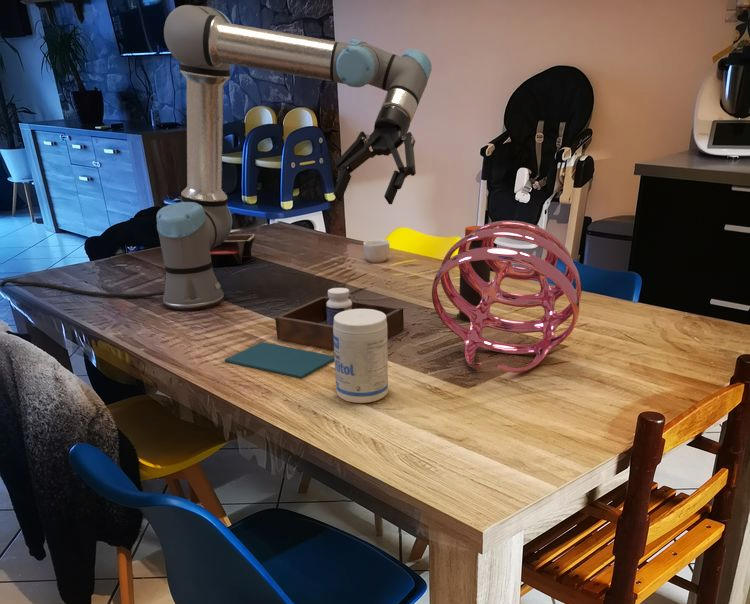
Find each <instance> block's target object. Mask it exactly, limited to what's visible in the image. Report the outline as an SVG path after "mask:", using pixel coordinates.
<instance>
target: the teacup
mask: <svg viewBox="0 0 750 604" xmlns="http://www.w3.org/2000/svg"><path fill="white" fill-rule="evenodd" d="M362 245H363V253H364V257H365V259H366V260H367V261H368V262H370V263H372V264H373V263H374V264H378V263H383V262H385V261H386V260H387V259H388V258H389V256H390V241H389V240H386V239H369V240H368V239H367V240H365V241H363V244H362Z"/></svg>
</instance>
